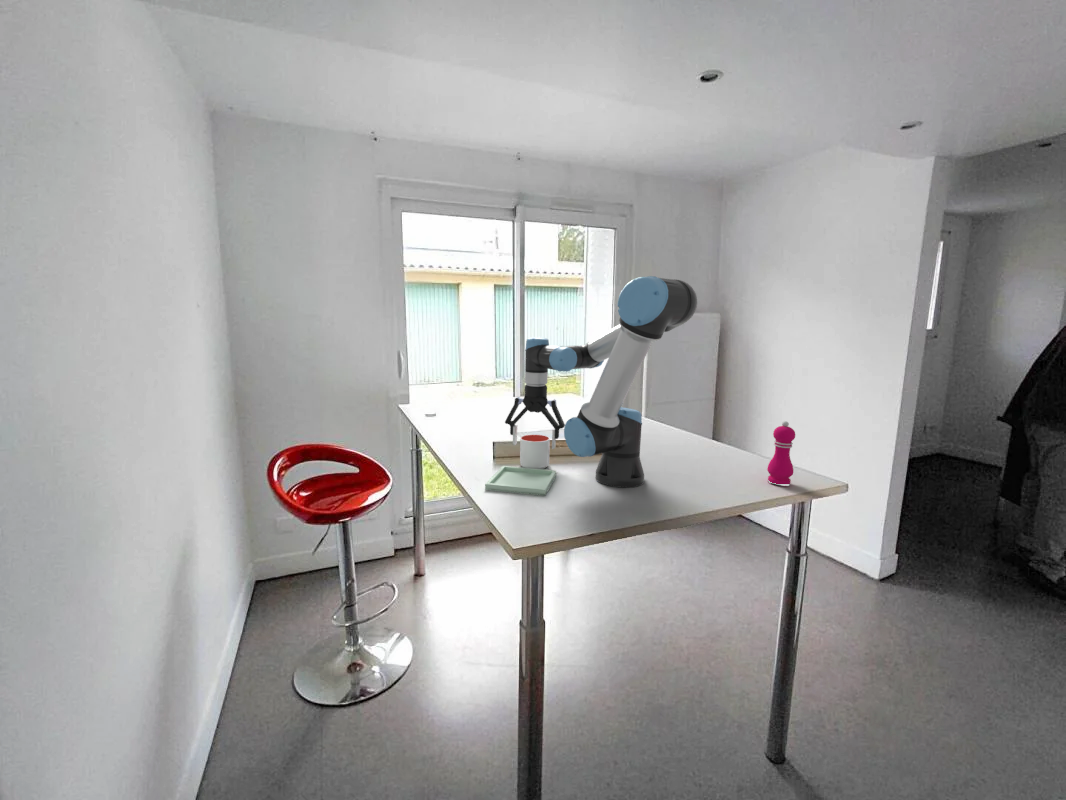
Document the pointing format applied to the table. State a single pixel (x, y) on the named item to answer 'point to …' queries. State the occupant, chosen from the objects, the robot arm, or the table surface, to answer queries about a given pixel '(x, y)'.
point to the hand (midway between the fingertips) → (534, 446)
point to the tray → (521, 480)
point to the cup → (534, 451)
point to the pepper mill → (781, 455)
